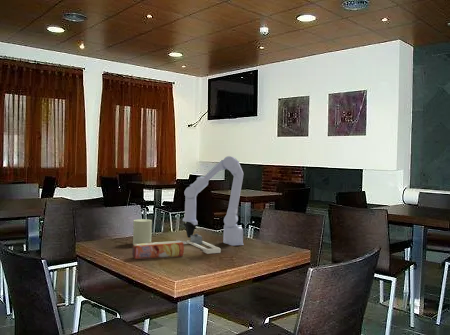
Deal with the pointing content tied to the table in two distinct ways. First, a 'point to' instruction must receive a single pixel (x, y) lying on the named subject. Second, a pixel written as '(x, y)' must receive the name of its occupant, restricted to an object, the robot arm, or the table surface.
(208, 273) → the table surface
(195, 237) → the block
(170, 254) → the snack package
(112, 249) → the table surface
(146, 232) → the can
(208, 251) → the rail
